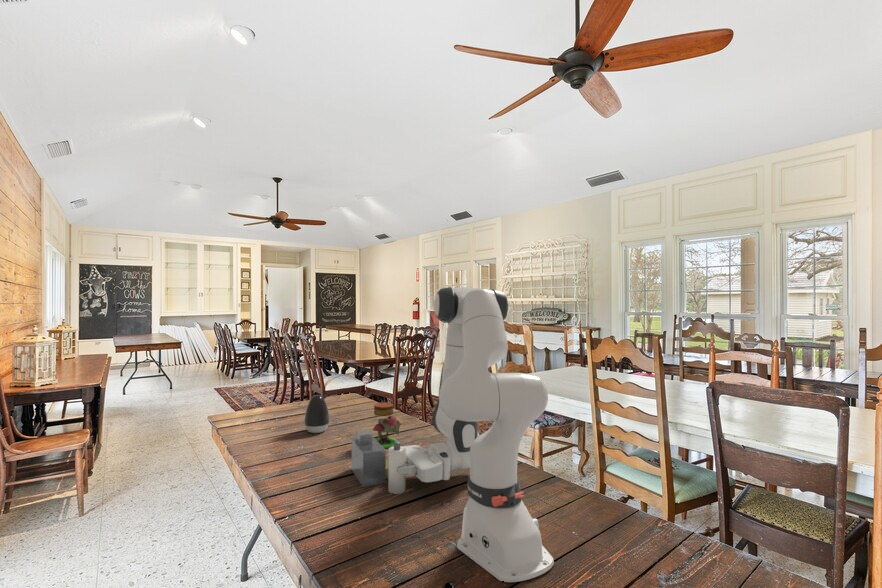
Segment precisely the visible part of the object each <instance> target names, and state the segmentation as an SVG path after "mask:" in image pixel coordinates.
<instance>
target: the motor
mask: <svg viewBox="0 0 882 588" xmlns="http://www.w3.org/2000/svg"><path fill="white" fill-rule="evenodd" d="M386 451H387V450H386V448H383V447H382V446H381V444H380V443H379V442H378V441H377V440H376V437H374V436H373V433H372V432H371V430H369V429H368V428H367V429H357V430H355V438H352V439H351V471H352V472H353V474H354V476H355V478H356V479H357V481H358V482H359V483H360V485H361V486H362V487H363V488H364V487H365V488H366V487H370V486H375V485H380V484H385V483H386V479H388V457H389V456H386V455H387V453H386Z"/></svg>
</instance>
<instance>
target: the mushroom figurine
mask: <svg viewBox="0 0 882 588" xmlns="http://www.w3.org/2000/svg"><path fill="white" fill-rule="evenodd" d="M373 414H374V416H376V417H377V416H378V417H384V418H379V419H377V420H378V423H376V424H375V425H374V427H373V429H372V430H373V431H374V432H377V435H378V437H377V438H376V437H375V439H376V440H377V441H378V442H379V443H380V444H381V446H382V447H383V448H384V449H389V448H390V447H394V442H395V441H398V440H397V439H396V438H395V437H390V436H389V434H390V433H391V434H397V436H400V428H401V425H402V423H401V422H400V421H399V420H398V419H397V417H396V416H394V404H393V403H392V402H387V401H385V402H378V403H375V404H374V405H373ZM387 416H388V417H387ZM385 417H386V418H385ZM382 433H385V434H382Z"/></svg>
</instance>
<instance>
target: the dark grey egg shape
mask: <svg viewBox="0 0 882 588" xmlns="http://www.w3.org/2000/svg"><path fill="white" fill-rule="evenodd" d="M327 397H328V395H327V394H324V395H323V396H322V395H321V394H316V395H315V394H314V395H313V396H312V397H311V398H310V399H309V402H308V404H307V407H306V410H305V413H304V422H303V423H304V427H305V429H306V431H308V432H309V433H311V434H321V433H324V431H326V430H327V429H328V427H329V425H330V418H331V417H330V411H329V408H328V404H327V403H326V400H325V399H327Z"/></svg>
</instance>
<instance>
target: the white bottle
mask: <svg viewBox="0 0 882 588" xmlns="http://www.w3.org/2000/svg"><path fill="white" fill-rule="evenodd" d="M401 443H402V442H401V441H399V440H397V441H395V442H394V446H393V447H390V448H388V456H387V457H388V478H387V480H388V482H387V485H388V486H387V487H388V493H390V494H392V493H393V495H398V494H403V493H405V491H406V474H399V473H398V472H397V467H398V466H404V467H405V466H406V449H405V447H402V445H401Z"/></svg>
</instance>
